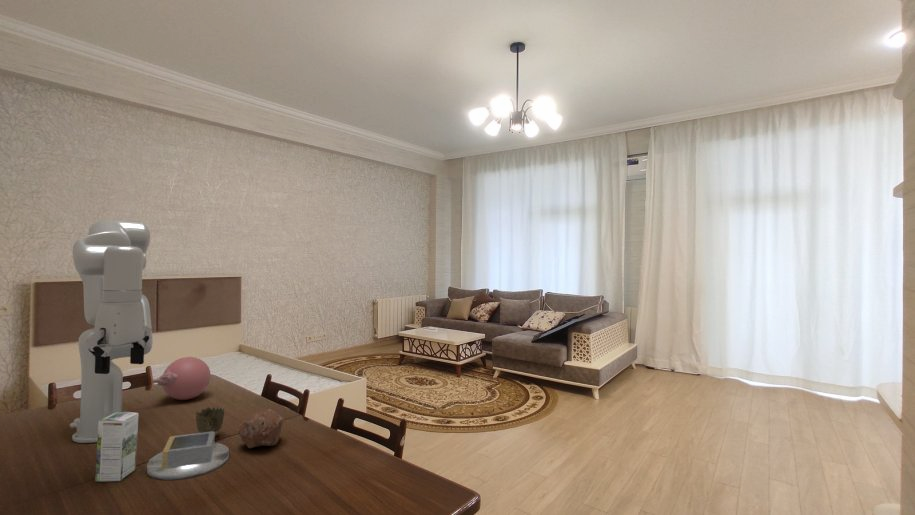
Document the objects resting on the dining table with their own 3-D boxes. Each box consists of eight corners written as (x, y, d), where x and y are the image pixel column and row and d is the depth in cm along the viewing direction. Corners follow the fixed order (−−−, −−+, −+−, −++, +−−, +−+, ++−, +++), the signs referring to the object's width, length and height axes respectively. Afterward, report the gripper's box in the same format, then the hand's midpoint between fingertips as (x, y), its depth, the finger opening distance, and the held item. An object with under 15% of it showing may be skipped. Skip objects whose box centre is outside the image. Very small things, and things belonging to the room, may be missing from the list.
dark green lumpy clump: (210, 444, 125) (211, 416, 125) (188, 441, 126) (189, 413, 126) (229, 434, 132) (230, 407, 132) (208, 431, 133) (209, 405, 133)
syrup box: (111, 470, 108) (113, 411, 108) (137, 470, 109) (139, 411, 109) (94, 482, 103) (96, 420, 103) (121, 481, 103) (123, 419, 103)
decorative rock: (268, 456, 118) (269, 419, 118) (228, 454, 119) (229, 417, 119) (290, 436, 132) (291, 403, 132) (253, 434, 132) (254, 401, 132)
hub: (138, 485, 102) (139, 461, 102) (155, 453, 118) (155, 433, 118) (226, 472, 109) (226, 449, 109) (230, 443, 125) (231, 424, 125)
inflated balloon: (137, 404, 155) (139, 361, 156) (193, 390, 173) (194, 351, 173) (163, 412, 149) (165, 367, 149) (218, 396, 166) (220, 356, 167)
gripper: (137, 294, 115) (135, 359, 115) (73, 300, 98) (71, 377, 98) (164, 295, 114) (162, 361, 114) (104, 301, 97) (102, 378, 97)
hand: (120, 368), depth 106 cm, fingers open, 9 cm apart
